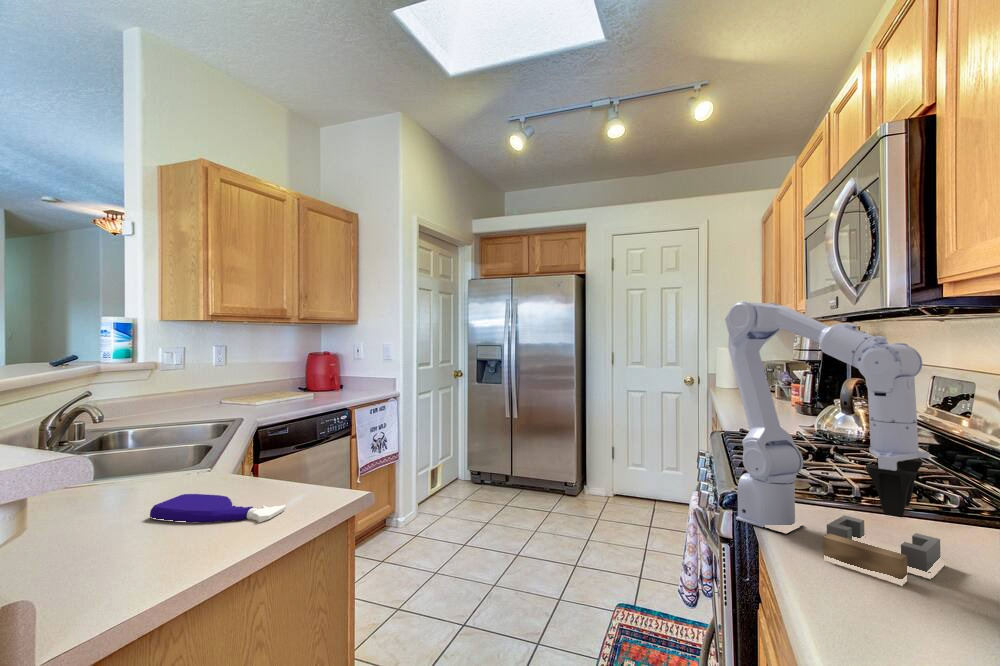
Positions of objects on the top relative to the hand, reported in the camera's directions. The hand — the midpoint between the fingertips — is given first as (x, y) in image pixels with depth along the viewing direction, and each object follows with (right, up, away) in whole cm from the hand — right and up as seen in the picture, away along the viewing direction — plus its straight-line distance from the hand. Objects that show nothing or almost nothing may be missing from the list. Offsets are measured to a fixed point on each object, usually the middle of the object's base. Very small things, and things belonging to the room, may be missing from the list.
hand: (897, 509), depth 72 cm
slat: (-5, -10, +1) cm, 11 cm away
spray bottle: (-119, -11, +24) cm, 122 cm away
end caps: (+2, -10, +6) cm, 12 cm away
